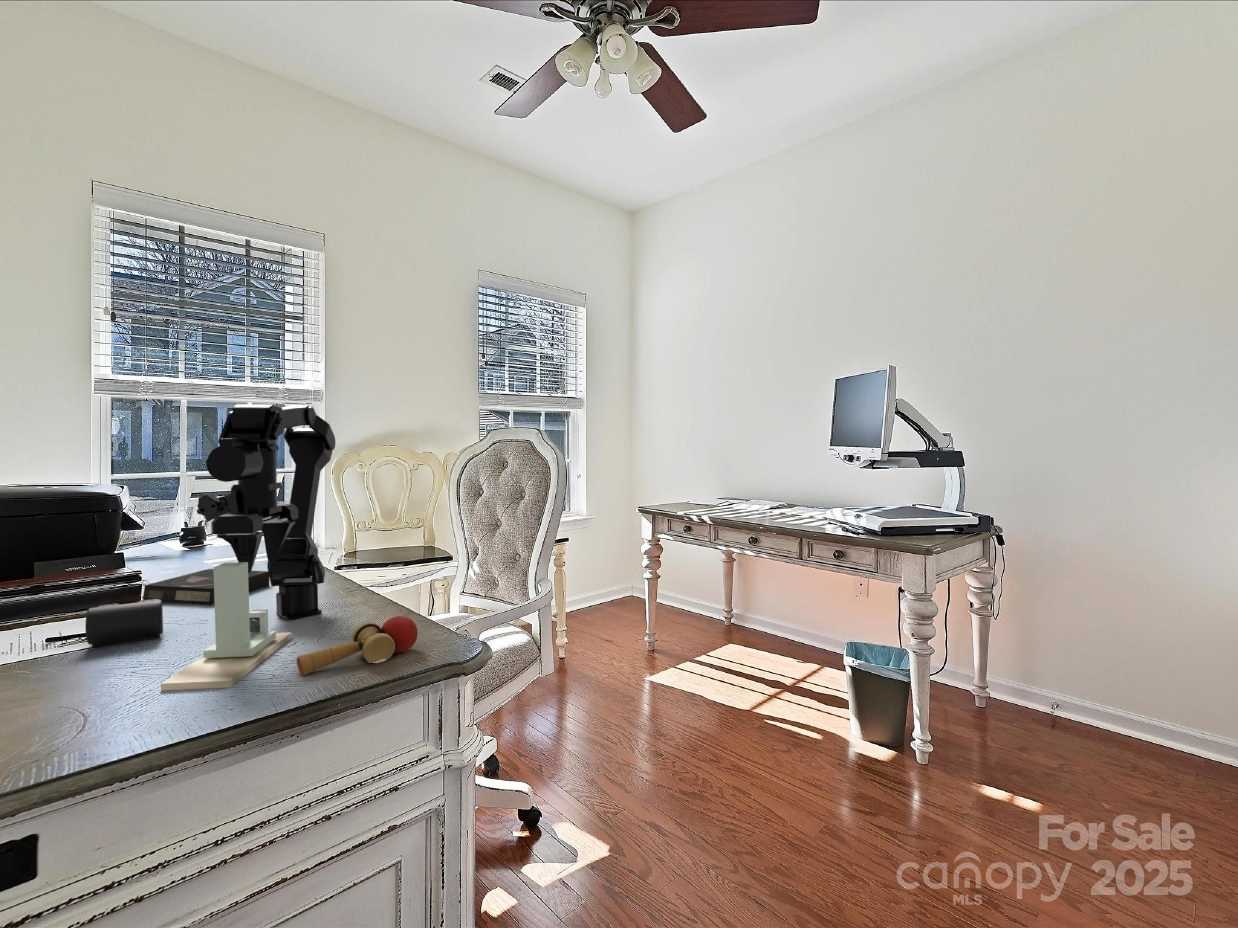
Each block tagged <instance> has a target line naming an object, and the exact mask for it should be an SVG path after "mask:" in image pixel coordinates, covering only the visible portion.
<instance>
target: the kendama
mask: <svg viewBox="0 0 1238 928" xmlns="http://www.w3.org/2000/svg"><path fill="white" fill-rule="evenodd" d="M418 631H419V630H418V627H417V624H416V623H415V622H414V620H413V619H412V618H410V617H407V616H403V615H397V616H396V615H395V616H393V617H391V618H388V619H387V620H386V621H385V622H384V623H383V624H382V626H381V627H380V626H379V625H378V624H377V623H375V622H371V621H366V622H363V623H361V624H359V625H357V627H356V628H355V629H354V631H353V633H352V642H349V643H344V644H341V645H335V646H332V647H329V648H325V649H322V650H318V651H315V652H310V653H307V654H302V655H299V656H297V657H296V665H297V669H298V671H299V674H300V675H301V676H302V677H304V676H307V675H309V674H311V673H313V672H315V671H318V670H320V669H323V668H325V667H327V666H330V665H332V664H335V663H336V662H337V663H338V662H340V661H343V660H344V659H346V658H349V657H351V656H353V655H354V654H356V653H358V652H361V653H362V657H363V659H365V660H366V661H367V663H368V664H371V663H373V662H376V661H379V660H381V659H388V660H389V659H391V657H392V656H393V654H400V653H399V652H402V653H405V652H407V651H410V649H411V648H412V647H413V646H414V645H415V644H416V642H417V639H418V636H419V635H418ZM404 651H405V652H404Z"/></svg>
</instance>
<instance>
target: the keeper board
mask: <svg viewBox="0 0 1238 928" xmlns="http://www.w3.org/2000/svg"><path fill="white" fill-rule="evenodd" d="M268 610H269V609H253V610H249V612H255V611H267V619H268V620H269V618H268V617H269V614H268ZM249 621H250V632H260V617H254V618H249ZM292 637H293V636H292V632H291V631H290V632H276V638H275V639H274V640H273V641H271V642H270V643H269V644H267V645H266V646H265V647H263V648H262V649H261V650H259V651H258V652H257V653H255V654H254V655H253V656H243V657H220V658H204V655H202V656H201V657H200V658H198V659H197V660H195V661H193V662H192V663H190V664H189V665H187V666H186V667H184V668H183V669H181V670H180V671H178V672H177V673H175V674H174V675H172V676H170V677H169V678H167V679H166V680H164V681H163V682H161V683H160V691H161V692H162V691H163V692H164V691H165V692H166V691H180V690H181V691H182V690H202V689H203V690H204V689H205V690H206V689H223V688H224V689H225V688H231V687H232V686H233V685H235V684H236V683H238V681H240V680H241V679H242V678H244V677H245V676H246V675H247V674H248V673H250V672H252V670H254V669H255V668H256V667H257V666H258V665H259V664H261V663H262V662H263V661H265V660H266V659H267V658H268V657H269V656H271V655H272V654H273V653H275V652H276V651H277V650H278V649H280V648H281V647H282V646H283V645H285V644H286V643H288V641H290V640H291V639H292Z"/></svg>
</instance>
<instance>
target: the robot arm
mask: <svg viewBox="0 0 1238 928" xmlns="http://www.w3.org/2000/svg"><path fill="white" fill-rule="evenodd" d="M301 426H308V427H309V428H296V427H301ZM222 427H223V428H222V430H221V433H220V435H219V438H218V440H217V441H218V443H217V444H218V445H219V446H217V447H215V448H213V449H212V450H211V452H210V453H209V455H208V457H207V459H206V460H205V461H206V462H205V465H206V469H207V473H209V475H210V476H211V477H212V478H214V479H215V480H217V481H219V482H224V483H228V482H236V481H237V484H236V483H235V484H234V483H233V484H232V486H231V488H230V493H229V494H227V495H223V496H219V497H217V496H216V495H215V494H214V493H209V494H205V495H203V496H199V497H198V500H197V501H198V502H197V509H196V513H197V514H198V515H200V516H203V517H204V519H205V521H206V522H210V525H211V530H210V531H211V535H216V537H217V538H218V539H222V540H224V541H226V542H227V543H228V544H229V545H230V547H231V549H232V550H233V553H234V555H235V557H236V560H237V562H248V573H251V571H253V567H254V564H255V561H256V558H257V555H258V551H259V548H260V544H261V542H262V539H263V541H264V546H265V552H266V558H267V565H266V566H267V571H268V573H269V584H270V586H271V587H278V592H276V593H275V600H276V601H275V602H276V603H275V604H276V612H275V614H276V615H278V616H280V617H282V618H284V619H286V620H293V619H299V618H304V617H309V616H312V615H317V614H321V613H322V612H323V610H322V609H321V608H319V585H320V584H324V583H325V577H326V568H325V567H324V565H323V563H322V561H321V559H320V557H319V555H318V554H319V549H318V546H317V544H316V543H315V541H314V539H313V537H312V534H313V527H314V520H315V512H316V505H317V498H318V491H319V486H320V485H319V484H320V477H321V472H322V470H323V468H325V467H326V466H327V464H328V463H330V461H331V460H332V454H333V451H334V450H335V447H336V437H335V434H334V431H333V430H332V427H331V425H330V423H329V422H327V421H326V420H324V418H321V417H320V416H319V415H318V414H317V413H316V410H315V409H314V407H313V406H310V405H288V406H284V407H282V406H278V405H274V404H236V405H234V406H233V407H231V411H230V412H228V414H227V417H226V419H225V421H224V424H223V426H222ZM294 427H295V428H296V429H293V428H294ZM284 430H285V431H284ZM281 435H283V439H284V441H285V442H286V444H287V446H288V448H289V449H288V454H290V457H291V459H292V461H293V462H294V464H295V468H294V473H293V474H294V475H293V478H292V479H293V481H292V487H291V493H290V497H289V498H290V499H289V503H278V489H282V482H280V481H277V479H278V477H277V451H279V450H280V446H279V445H278V444H277V443H276V441H277V440H278V438H279V436H281Z"/></svg>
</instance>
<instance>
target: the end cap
mask: <svg viewBox="0 0 1238 928" xmlns="http://www.w3.org/2000/svg"><path fill="white" fill-rule="evenodd" d="M163 612H164V610H163V603H162V600H159V599H153V598H152V599H151V600H143V599H142V600H138V601H137V602H131V603H130V602H129V603H123V604H120V603H115V602H113V603H111V604H106V603H103V604H102V605H99V606H98V605H97V607H89V608H88V609H87V611H86V615H85V636H86V637H85V639H86V642H87V644H88V645H91V647H92V648H97V647H102V646H109V645H110V646H111V645H116V644H125V643H129V642H135V641H143V640H149V639H157V638H160V637H161V635H162V634H163V633H164V616H163V615H164V613H163Z"/></svg>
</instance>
